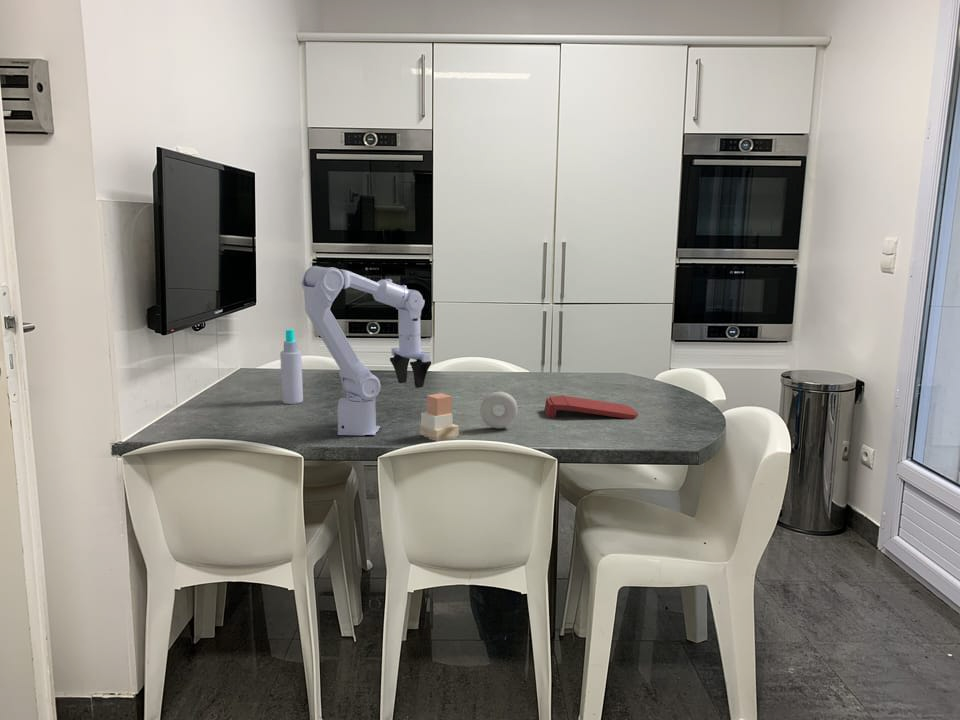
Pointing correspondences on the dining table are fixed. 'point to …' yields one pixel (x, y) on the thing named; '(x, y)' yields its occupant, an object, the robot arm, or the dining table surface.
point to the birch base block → (440, 432)
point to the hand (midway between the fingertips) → (410, 384)
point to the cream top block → (436, 420)
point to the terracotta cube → (439, 404)
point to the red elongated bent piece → (588, 407)
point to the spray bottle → (291, 371)
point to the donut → (493, 400)
